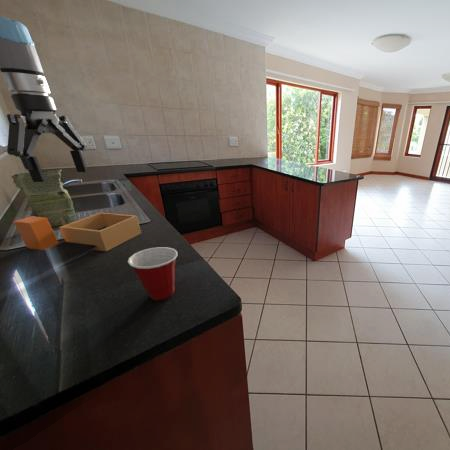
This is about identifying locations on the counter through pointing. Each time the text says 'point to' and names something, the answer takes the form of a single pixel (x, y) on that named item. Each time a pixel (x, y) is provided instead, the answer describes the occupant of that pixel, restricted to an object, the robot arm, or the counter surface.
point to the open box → (106, 238)
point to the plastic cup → (156, 270)
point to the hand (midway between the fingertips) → (63, 176)
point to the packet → (36, 232)
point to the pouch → (47, 198)
